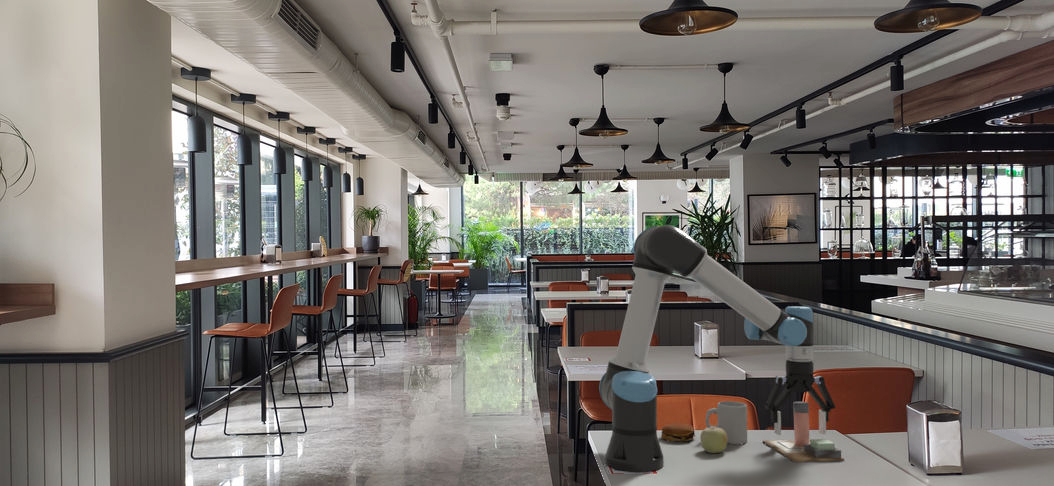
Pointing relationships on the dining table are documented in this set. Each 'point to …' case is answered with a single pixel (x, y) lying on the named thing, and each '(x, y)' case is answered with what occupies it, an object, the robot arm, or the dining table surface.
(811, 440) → the button
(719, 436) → the fruit
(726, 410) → the mug
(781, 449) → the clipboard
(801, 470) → the dining table surface
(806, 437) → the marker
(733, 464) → the dining table surface
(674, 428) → the burger
